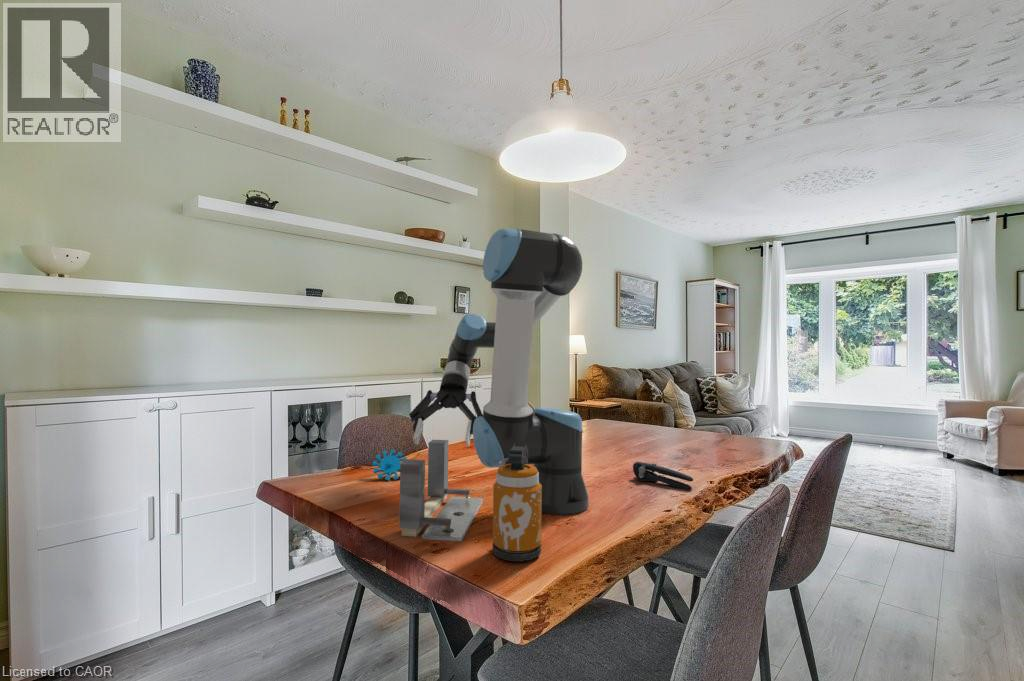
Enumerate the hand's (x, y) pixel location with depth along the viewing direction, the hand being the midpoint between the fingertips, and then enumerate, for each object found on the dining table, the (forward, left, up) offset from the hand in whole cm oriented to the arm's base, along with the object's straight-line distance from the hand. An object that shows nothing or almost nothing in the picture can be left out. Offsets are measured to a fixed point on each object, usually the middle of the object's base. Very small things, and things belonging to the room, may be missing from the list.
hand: (441, 442), depth 125 cm
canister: (-28, +27, -13) cm, 42 cm away
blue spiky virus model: (+20, -10, -14) cm, 26 cm away
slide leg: (-5, +5, -12) cm, 14 cm away
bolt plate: (-11, +15, -13) cm, 22 cm away
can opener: (-55, -29, -14) cm, 64 cm away
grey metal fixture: (-6, +14, -13) cm, 20 cm away
